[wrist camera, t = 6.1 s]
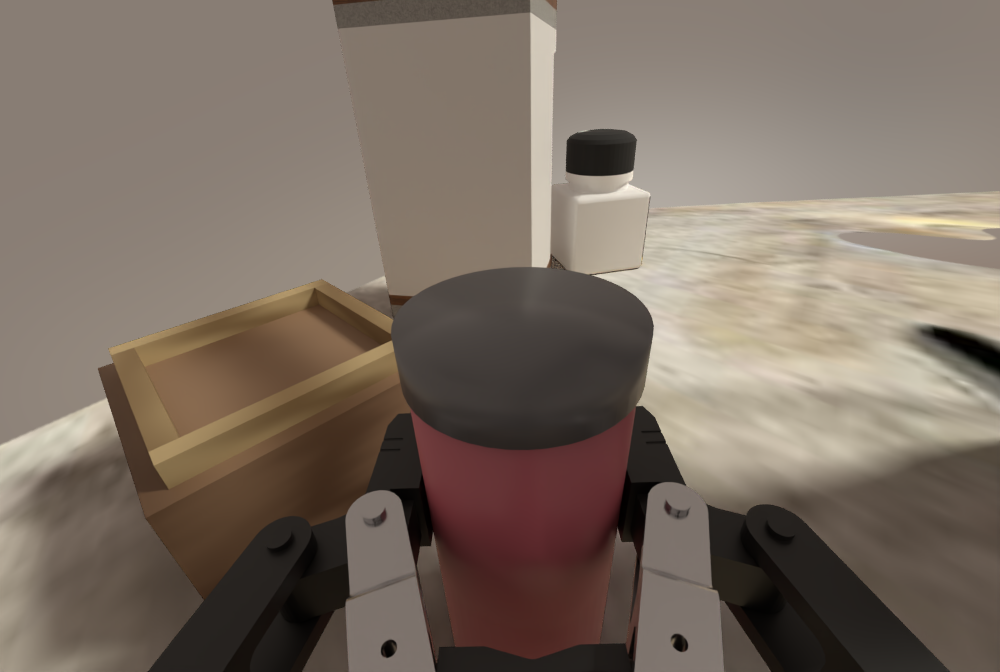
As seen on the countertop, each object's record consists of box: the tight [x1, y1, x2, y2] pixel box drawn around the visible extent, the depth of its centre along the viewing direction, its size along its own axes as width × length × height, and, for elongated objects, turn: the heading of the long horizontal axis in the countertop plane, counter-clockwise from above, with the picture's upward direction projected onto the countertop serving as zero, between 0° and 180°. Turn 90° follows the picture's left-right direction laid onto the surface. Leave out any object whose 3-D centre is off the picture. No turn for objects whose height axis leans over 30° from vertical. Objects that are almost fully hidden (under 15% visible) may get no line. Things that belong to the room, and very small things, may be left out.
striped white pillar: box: [332, 0, 557, 318], centre depth 29 cm, size 11×11×35 cm
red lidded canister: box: [391, 267, 654, 659], centre depth 12 cm, size 5×5×12 cm
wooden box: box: [98, 280, 411, 600], centre depth 20 cm, size 11×11×7 cm
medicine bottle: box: [550, 129, 650, 275], centre depth 41 cm, size 7×7×12 cm
